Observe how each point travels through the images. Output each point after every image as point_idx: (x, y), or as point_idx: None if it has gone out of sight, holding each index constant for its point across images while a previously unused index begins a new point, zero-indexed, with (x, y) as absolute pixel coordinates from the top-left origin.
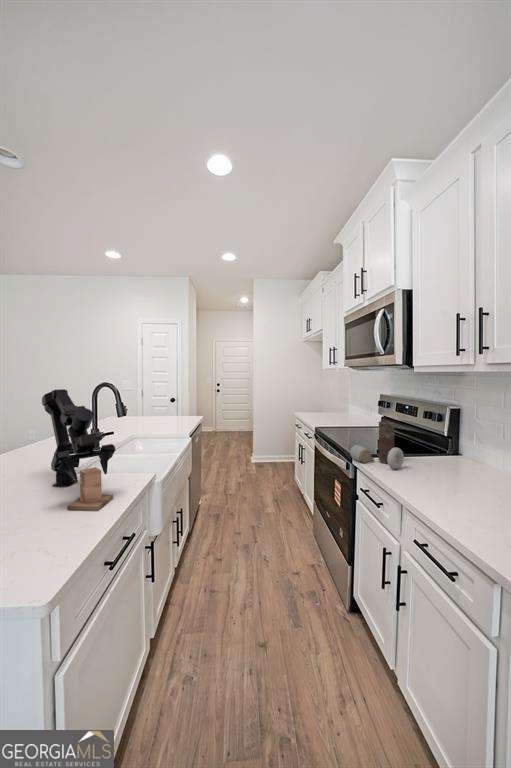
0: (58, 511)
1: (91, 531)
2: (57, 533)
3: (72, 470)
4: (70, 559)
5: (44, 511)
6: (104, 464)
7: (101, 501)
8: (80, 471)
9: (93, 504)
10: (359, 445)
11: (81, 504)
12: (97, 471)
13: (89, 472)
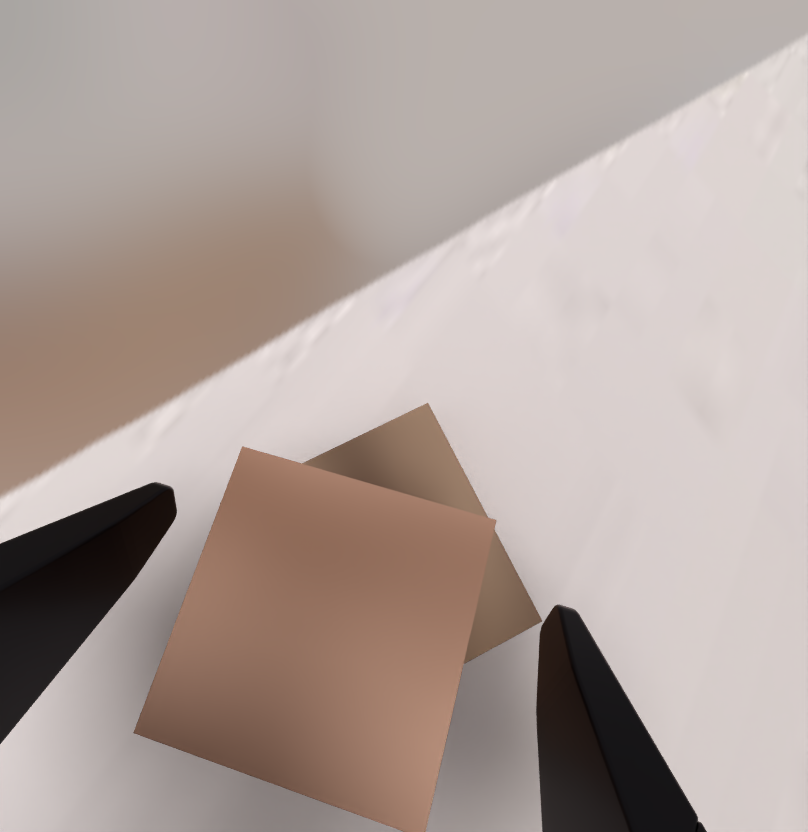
0: None
1: (598, 225)
2: (720, 346)
3: (663, 792)
4: (774, 100)
5: None
6: (23, 576)
7: (355, 460)
8: (431, 786)
9: (421, 460)
10: None
11: None
12: (300, 465)
13: (415, 514)
